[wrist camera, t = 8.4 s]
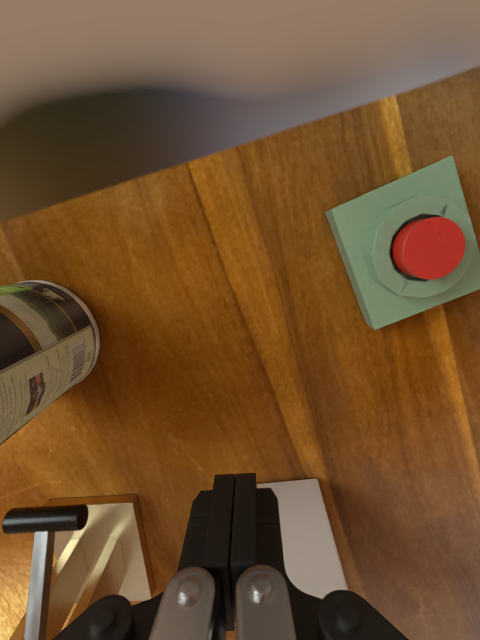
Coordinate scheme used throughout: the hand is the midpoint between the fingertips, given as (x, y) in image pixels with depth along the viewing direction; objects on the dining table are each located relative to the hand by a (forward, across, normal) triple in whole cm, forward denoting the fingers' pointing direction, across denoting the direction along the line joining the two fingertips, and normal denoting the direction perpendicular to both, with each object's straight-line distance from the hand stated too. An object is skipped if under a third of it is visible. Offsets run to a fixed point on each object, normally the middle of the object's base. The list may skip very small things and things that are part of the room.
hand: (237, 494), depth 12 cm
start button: (+14, -13, -7) cm, 20 cm away
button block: (+18, -13, -7) cm, 23 cm away
